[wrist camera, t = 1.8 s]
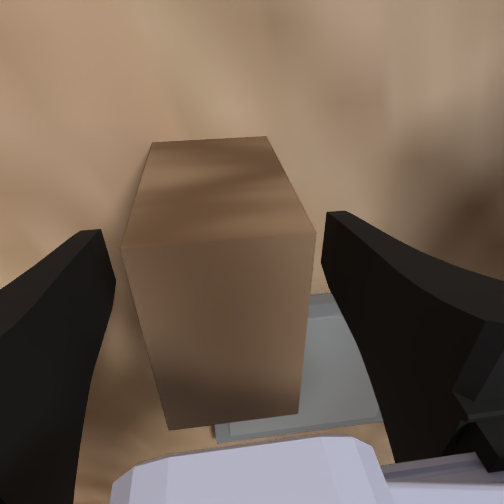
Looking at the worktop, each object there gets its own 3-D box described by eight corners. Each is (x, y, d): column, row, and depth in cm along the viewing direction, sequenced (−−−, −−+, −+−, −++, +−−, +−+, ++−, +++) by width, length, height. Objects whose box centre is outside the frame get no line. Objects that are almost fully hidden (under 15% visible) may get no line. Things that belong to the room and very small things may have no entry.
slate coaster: (423, 284, 16) (432, 294, 16) (381, 411, 22) (386, 422, 21) (199, 306, 15) (200, 318, 15) (216, 433, 21) (217, 445, 21)
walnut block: (267, 135, 12) (319, 232, 7) (266, 280, 15) (299, 413, 10) (151, 141, 11) (117, 248, 6) (176, 288, 15) (166, 430, 10)
